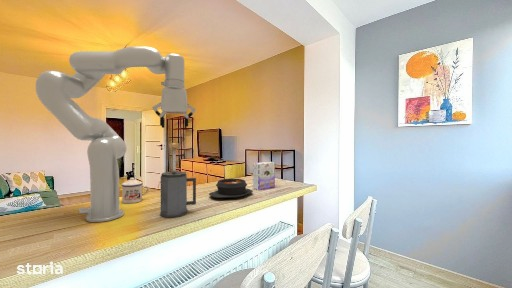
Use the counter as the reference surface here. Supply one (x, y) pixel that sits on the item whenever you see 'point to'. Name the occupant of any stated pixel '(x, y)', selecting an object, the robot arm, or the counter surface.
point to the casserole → (231, 189)
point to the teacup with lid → (132, 191)
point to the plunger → (174, 155)
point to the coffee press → (175, 194)
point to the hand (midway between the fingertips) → (174, 127)
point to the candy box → (263, 175)
